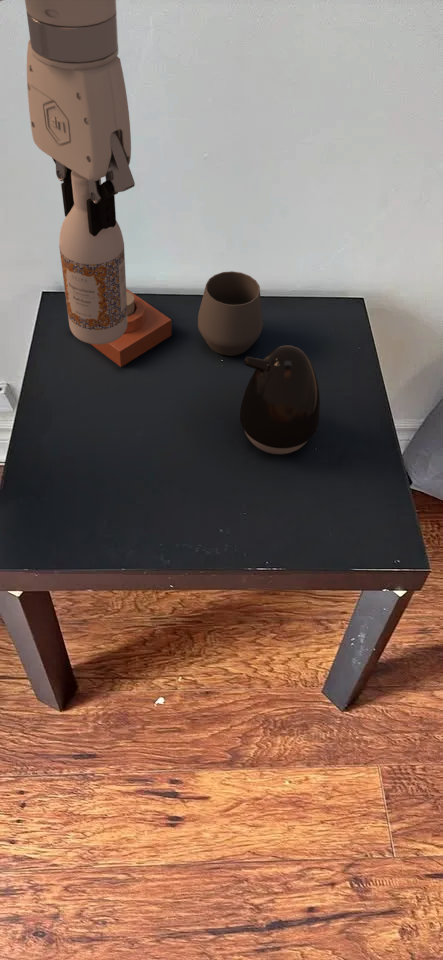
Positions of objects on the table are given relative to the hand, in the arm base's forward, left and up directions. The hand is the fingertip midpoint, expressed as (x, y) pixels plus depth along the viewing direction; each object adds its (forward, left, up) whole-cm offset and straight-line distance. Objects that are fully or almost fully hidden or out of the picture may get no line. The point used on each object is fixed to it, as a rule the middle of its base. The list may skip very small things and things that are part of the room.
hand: (90, 220), depth 79 cm
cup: (+22, -2, -29) cm, 36 cm away
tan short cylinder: (+12, +10, -24) cm, 29 cm away
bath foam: (0, 0, -15) cm, 15 cm away
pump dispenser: (+13, -19, -29) cm, 37 cm away
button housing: (+12, +10, -29) cm, 33 cm away
